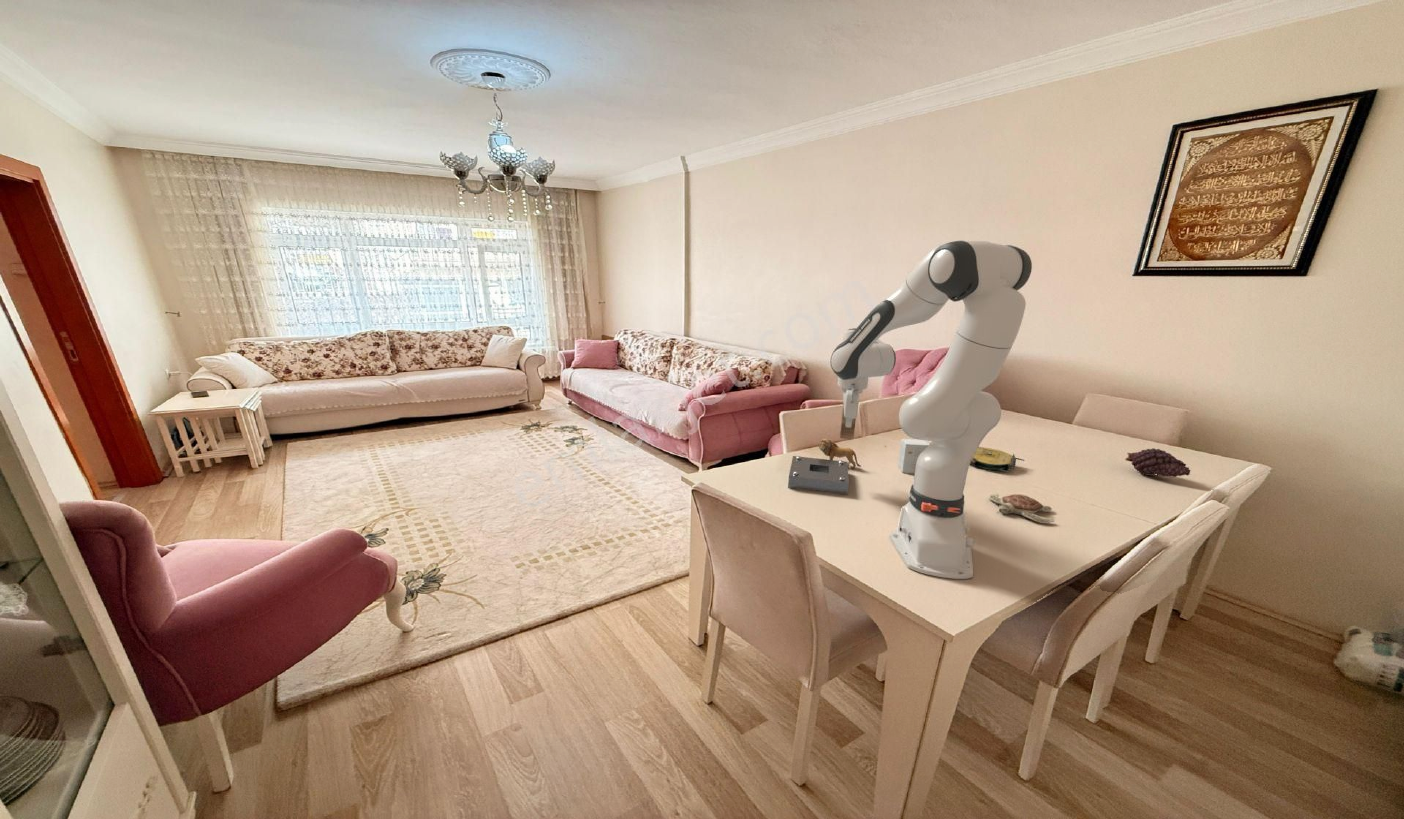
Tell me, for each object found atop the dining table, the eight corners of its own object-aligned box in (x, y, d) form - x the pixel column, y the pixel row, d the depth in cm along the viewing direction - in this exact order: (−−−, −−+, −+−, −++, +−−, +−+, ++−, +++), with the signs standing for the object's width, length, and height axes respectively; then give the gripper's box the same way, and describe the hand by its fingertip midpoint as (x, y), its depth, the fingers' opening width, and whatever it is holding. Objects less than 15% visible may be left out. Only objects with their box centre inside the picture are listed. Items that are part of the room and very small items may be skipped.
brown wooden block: (853, 439, 153) (857, 408, 150) (840, 438, 154) (843, 407, 151) (853, 435, 157) (856, 405, 154) (840, 434, 158) (843, 403, 155)
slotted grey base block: (847, 495, 150) (849, 481, 149) (787, 487, 154) (788, 474, 153) (846, 472, 167) (847, 460, 166) (792, 466, 171) (793, 454, 170)
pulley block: (938, 430, 193) (1026, 451, 173) (937, 444, 195) (1024, 465, 175) (923, 444, 184) (1014, 467, 164) (922, 457, 187) (1012, 482, 166)
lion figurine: (817, 464, 173) (819, 440, 171) (818, 459, 178) (820, 436, 176) (860, 470, 169) (863, 445, 167) (860, 465, 174) (863, 441, 172)
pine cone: (1191, 484, 164) (1200, 455, 161) (1177, 489, 160) (1186, 460, 157) (1128, 465, 179) (1135, 439, 176) (1114, 469, 175) (1121, 443, 172)
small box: (920, 468, 172) (925, 439, 170) (926, 474, 167) (930, 445, 164) (897, 466, 173) (901, 438, 170) (901, 473, 168) (905, 443, 165)
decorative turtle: (971, 502, 148) (974, 487, 147) (1010, 494, 154) (1014, 479, 152) (1029, 531, 132) (1032, 514, 130) (1070, 521, 137) (1074, 505, 136)
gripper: (865, 389, 140) (859, 435, 144) (862, 375, 159) (857, 416, 163) (842, 387, 141) (837, 433, 145) (841, 373, 160) (837, 414, 164)
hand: (847, 424), depth 154 cm, fingers closed on brown wooden block, 4 cm apart
